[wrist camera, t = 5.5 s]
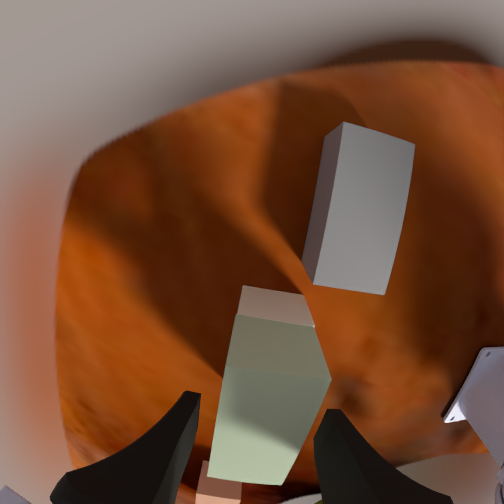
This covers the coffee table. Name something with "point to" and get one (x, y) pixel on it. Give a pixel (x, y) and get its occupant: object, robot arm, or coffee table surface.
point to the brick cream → (274, 306)
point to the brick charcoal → (358, 209)
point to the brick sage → (267, 400)
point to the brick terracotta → (217, 489)
